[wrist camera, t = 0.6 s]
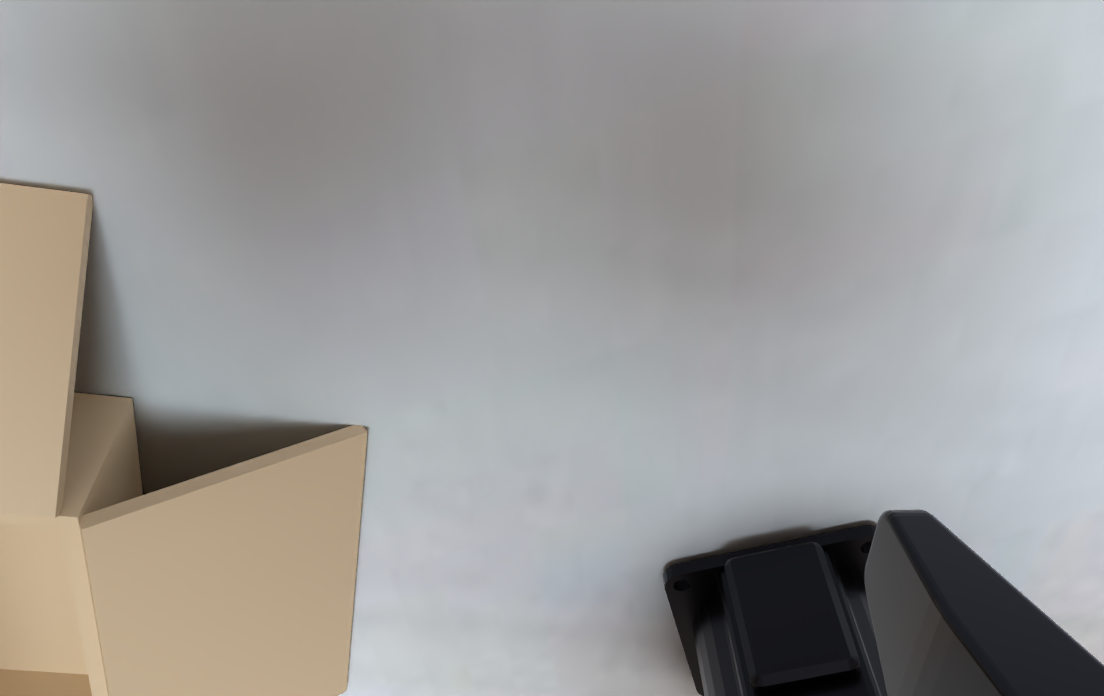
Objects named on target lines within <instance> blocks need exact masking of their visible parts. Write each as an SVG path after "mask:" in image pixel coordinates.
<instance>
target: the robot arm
mask: <svg viewBox="0 0 1104 696" xmlns="http://www.w3.org/2000/svg"><path fill="white" fill-rule="evenodd" d="M663 580H664V586H665V591H666V594H667V597H668V600H669V603H670V606H671V610H672V613H673V616H674V619H675V622H676V626H677V629H678V632H679V635H680V638H681V641H682V645H683V648H684V651H685V654H686V657H687V661H688V664H689V667H690V670H691V673H692V677H693V680H694V683H695V686H696V689H697V692H698V693H699V694H700V695H702V696H1104V665H1103V664H1102V663H1101V662H1099V661H1098V660H1097V659H1096V658H1095V657H1094V656H1093V655H1091V654H1090V653H1089V652H1088V651H1087V650H1086V649H1085V648H1083V647H1082V646H1081V645H1080V644H1079V643H1078V642H1077V641H1076V640H1074V639H1073V638H1072V637H1071V636H1070V635H1069V634H1068V633H1066V632H1065V631H1064V630H1063V629H1062V628H1061V627H1060V626H1058V625H1057V624H1056V623H1055V622H1054V621H1053V620H1052V619H1050V618H1049V617H1048V616H1047V615H1046V614H1045V613H1044V612H1042V611H1041V610H1040V609H1039V608H1038V607H1037V606H1036V605H1034V604H1033V603H1032V602H1031V601H1030V600H1029V599H1028V598H1026V597H1025V596H1024V595H1023V594H1022V593H1021V592H1020V591H1018V590H1017V589H1016V588H1015V587H1014V586H1013V585H1012V584H1010V583H1009V582H1008V581H1007V580H1006V579H1005V578H1004V577H1003V576H1001V575H1000V574H999V573H998V572H997V571H996V570H995V569H993V568H992V567H991V566H990V565H989V564H988V563H987V562H985V561H984V560H983V559H982V558H981V557H980V556H979V555H977V554H976V553H975V552H974V551H973V550H972V549H971V548H969V547H968V546H967V545H966V544H965V543H964V542H963V541H961V540H960V539H959V538H958V537H957V536H956V535H955V534H953V533H952V532H951V531H950V530H949V529H948V528H947V527H945V526H944V525H943V524H942V523H941V522H940V521H939V520H937V519H936V518H935V517H934V516H933V515H931V514H930V513H928V512H926V511H923V510H889V511H886V512H884V513H883V514H882V515H881V516H880V518H879V520H878V523H877V526H872V525H866V526H860V527H855V528H850V529H845V530H840V531H835V532H831V533H826V534H821V535H816V536H811V537H806V538H801V539H797V540H792V541H787V542H782V543H777V544H772V545H767V546H762V547H758V548H753V549H748V550H743V551H738V552H733V553H728V554H724V555H719V556H714V557H709V558H704V559H699V560H694V561H689V562H685V563H680V564H676V565H673V566H670V567H669V568H667V569H666V570H665V572H664V573H663Z"/></svg>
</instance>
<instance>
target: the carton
mask: <svg viewBox="0 0 1104 696" xmlns="http://www.w3.org/2000/svg"><path fill="white" fill-rule="evenodd" d="M92 210H93V201H92V195H89V194H84V193H76V192H68V191H60V190H52V189H44V188H37V187H29V186H21V185H13V184H5V183H0V696H337V695H339V694H341V693H343V692H345V691H347V678H348V666H349V654H350V641H351V629H352V617H353V604H354V592H355V580H356V567H357V555H358V543H359V531H360V518H361V506H362V494H363V481H364V469H365V457H366V444H367V431H366V430H365V428H364V427H363V426H359V425H352V426H349V427H346V428H343V429H340V430H337V431H334V432H331V433H328V434H325V435H322V436H319V437H316V438H313V439H310V440H307V441H304V442H301V443H298V444H295V445H292V446H289V447H286V448H283V449H280V450H277V451H274V452H271V453H268V454H265V455H262V456H259V457H256V458H253V459H250V460H247V461H244V462H241V463H238V464H235V465H232V466H229V467H226V468H223V469H220V470H217V471H214V472H211V473H208V474H205V475H202V476H199V477H196V478H193V479H190V480H187V481H184V482H181V483H178V484H175V485H172V486H169V487H166V488H163V489H160V490H157V491H154V492H151V493H148V494H145V495H143V490H142V481H141V472H140V463H139V454H138V445H137V435H136V426H135V417H134V408H133V399H132V398H125V397H115V396H105V395H95V394H85V393H75V392H74V389H75V379H76V369H77V359H78V349H79V339H80V329H81V319H82V309H83V299H84V289H85V279H86V269H87V259H88V249H89V240H90V230H91V220H92Z"/></svg>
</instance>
